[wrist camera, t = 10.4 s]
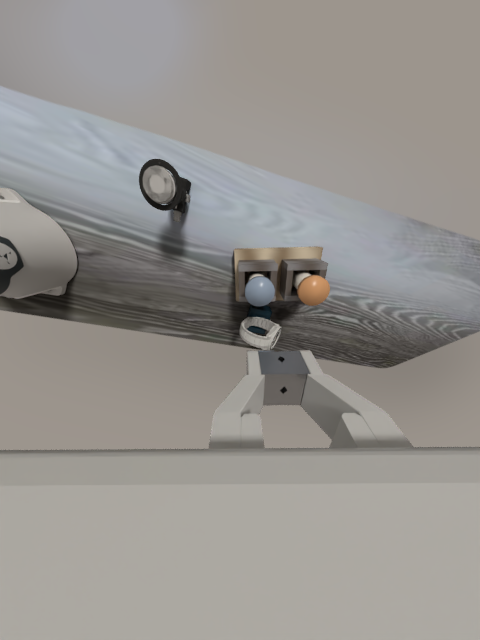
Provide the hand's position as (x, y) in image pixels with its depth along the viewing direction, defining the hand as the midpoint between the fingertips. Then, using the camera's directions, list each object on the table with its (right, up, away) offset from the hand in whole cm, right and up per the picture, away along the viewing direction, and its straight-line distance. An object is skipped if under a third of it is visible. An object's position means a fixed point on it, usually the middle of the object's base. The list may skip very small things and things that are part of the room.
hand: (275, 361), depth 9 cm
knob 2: (+9, +10, +26) cm, 29 cm away
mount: (+5, +11, +28) cm, 31 cm away
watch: (+2, +3, +33) cm, 33 cm away
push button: (-12, +23, +23) cm, 34 cm away
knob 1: (+1, +10, +26) cm, 28 cm away
